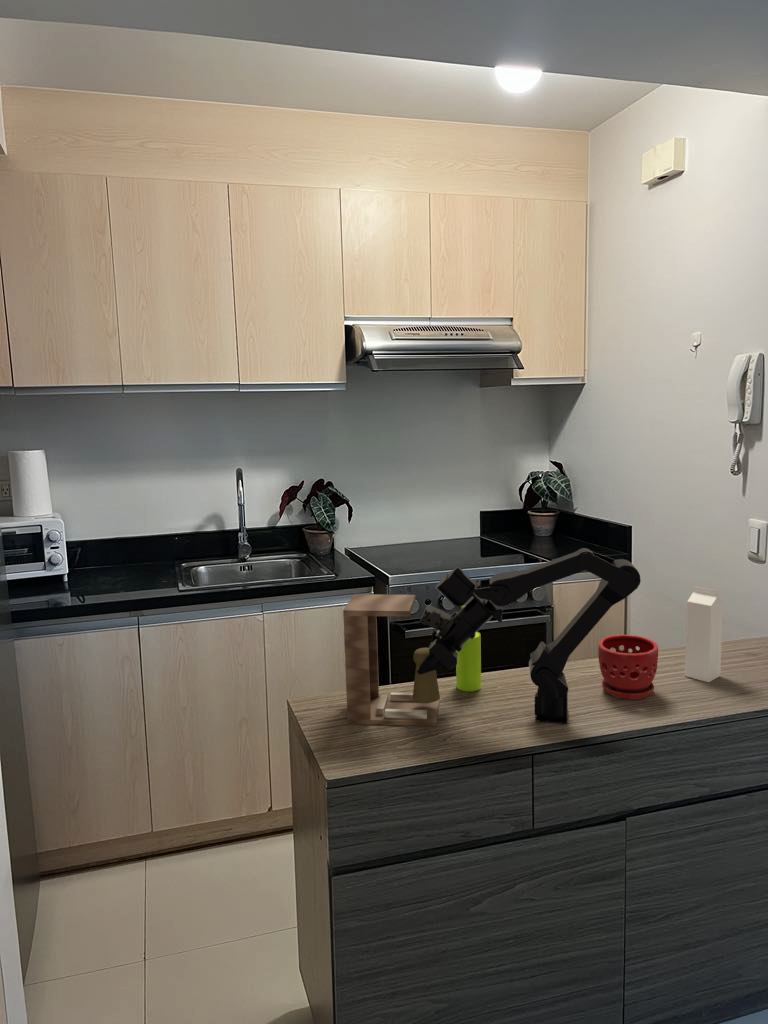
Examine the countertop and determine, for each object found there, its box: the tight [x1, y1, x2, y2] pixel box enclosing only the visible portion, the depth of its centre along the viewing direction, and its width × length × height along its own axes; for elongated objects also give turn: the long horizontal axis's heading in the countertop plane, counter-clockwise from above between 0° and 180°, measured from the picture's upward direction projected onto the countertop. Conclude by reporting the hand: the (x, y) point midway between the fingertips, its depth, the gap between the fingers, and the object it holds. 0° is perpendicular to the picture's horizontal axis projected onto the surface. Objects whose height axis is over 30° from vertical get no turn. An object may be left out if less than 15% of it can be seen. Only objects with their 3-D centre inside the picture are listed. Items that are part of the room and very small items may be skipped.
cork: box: [412, 647, 441, 703], centre depth 166 cm, size 6×6×11 cm
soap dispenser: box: [455, 605, 482, 692], centre depth 180 cm, size 6×7×20 cm
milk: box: [684, 585, 724, 683], centre depth 182 cm, size 6×6×22 cm
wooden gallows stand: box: [342, 593, 441, 727], centre depth 166 cm, size 19×13×25 cm
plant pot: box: [597, 634, 659, 700], centre depth 174 cm, size 13×13×12 cm
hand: (419, 668), depth 166 cm, fingers closed on cork, 5 cm apart
